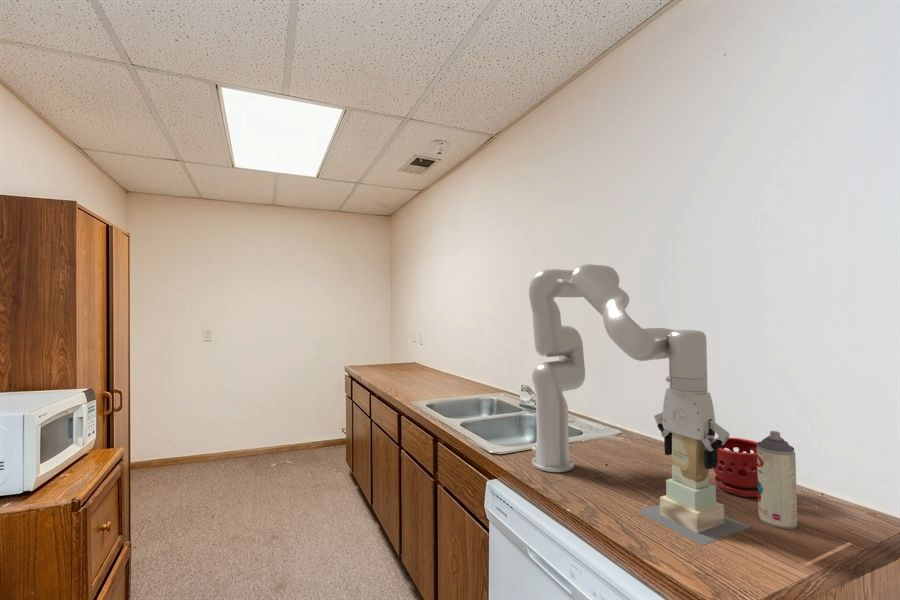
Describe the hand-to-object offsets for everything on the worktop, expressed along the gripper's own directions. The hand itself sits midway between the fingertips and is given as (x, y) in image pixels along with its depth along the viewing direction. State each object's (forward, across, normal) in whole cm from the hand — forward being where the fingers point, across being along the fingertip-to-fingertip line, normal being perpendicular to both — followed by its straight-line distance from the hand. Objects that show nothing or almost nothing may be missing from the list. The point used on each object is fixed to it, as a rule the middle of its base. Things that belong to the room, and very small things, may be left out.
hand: (689, 460), depth 96 cm
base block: (+13, 0, 0) cm, 13 cm away
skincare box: (+5, 0, 0) cm, 5 cm away
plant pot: (+14, -5, +26) cm, 30 cm away
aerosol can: (+14, +9, +16) cm, 23 cm away
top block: (+9, 0, 0) cm, 9 cm away
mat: (+13, 0, 0) cm, 13 cm away
